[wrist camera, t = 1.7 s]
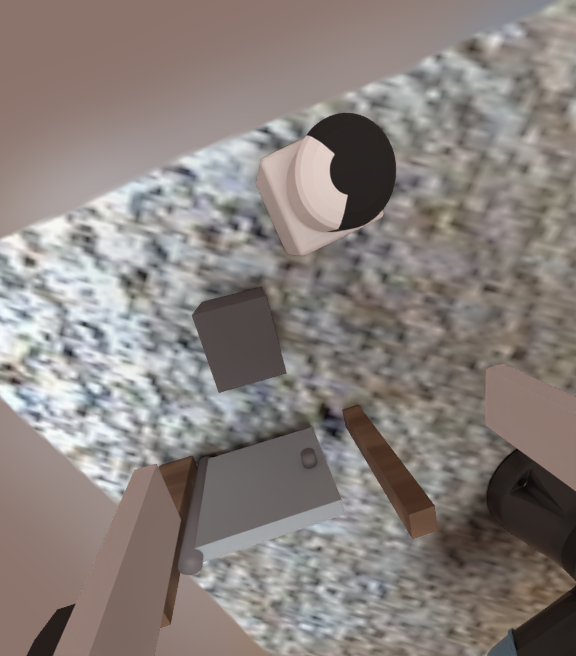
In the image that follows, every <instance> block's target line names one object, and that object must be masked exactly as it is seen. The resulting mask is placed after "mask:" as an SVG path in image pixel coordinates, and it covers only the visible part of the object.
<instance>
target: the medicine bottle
mask: <svg viewBox="0 0 576 656" xmlns="http://www.w3.org/2000/svg"><path fill="white" fill-rule="evenodd" d="M395 178H396V161H395V156H394V152H393V149H392V146H391V144H390V142H389V140H388V138H387V136H386V135H385V133H384V132H383V131H382V130H381V129H380V127H379V126H377V125H376V124H375V123H374V122H373V121H371V120H369V119H368V118H366V117H363V116H361V115H358V114H353V113H340V114H335V115H332V116H329V117H327V118H325V119H323V120H322V121H320V122H319V123H317V124H316V125H315V126H314V127H313V128H312V129H311V130H310V131H309V133H308V134H307V135H306V137H305V138H303V139H301V140H299V141H297V142H295V143H293V144H291V145H289V146H287V147H284V148H282V149H280V150H278V151H276V152H274V153H272V154H270V155H268V156H265V157H263V158H262V159H261V162H260V167H259V171H258V176H257V180H256V186H257V188H258V190H259V193H260V195H261V197H262V199H263V202H264V204H265V206H266V208H267V211H268V213H269V215H270V217H271V220H272V222H273V224H274V226H275V229H276V231H277V233H278V235H279V238H280V240H281V242H282V244H283V247H284V249H285V251H286V253H287V254H289V255H300V256H304V255H307V254H309V253H311V252H313V251H315V250H317V249H319V248H321V247H323V246H325V245H327V244H329V243H331V242H333V241H336V240H338V239H340V238H342V237H344V236H346V235H348V234H350V233H352V232H354V231H356V230H358V229H360V228H362V227H364V226H366V225H368V224H370V223H373V222H375V221H377V220H379V219H380V218H382V217H383V215H384V212H383V209H384V207H385V206H386V204H387V203H388V201H389V199H390V197H391V194H392V192H393V188H394V184H395Z"/></svg>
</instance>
